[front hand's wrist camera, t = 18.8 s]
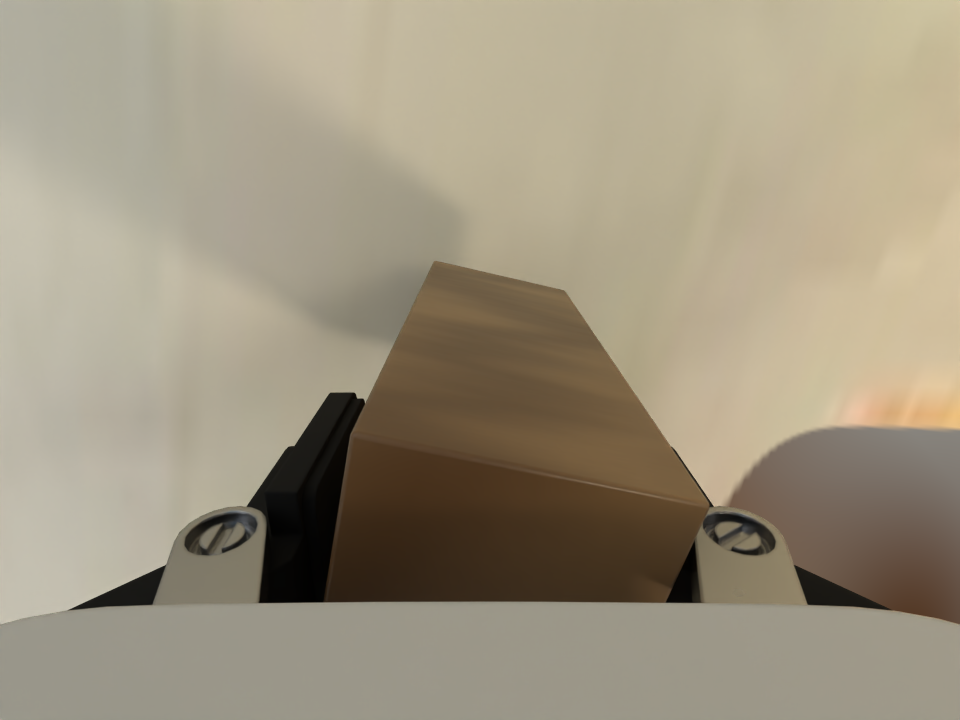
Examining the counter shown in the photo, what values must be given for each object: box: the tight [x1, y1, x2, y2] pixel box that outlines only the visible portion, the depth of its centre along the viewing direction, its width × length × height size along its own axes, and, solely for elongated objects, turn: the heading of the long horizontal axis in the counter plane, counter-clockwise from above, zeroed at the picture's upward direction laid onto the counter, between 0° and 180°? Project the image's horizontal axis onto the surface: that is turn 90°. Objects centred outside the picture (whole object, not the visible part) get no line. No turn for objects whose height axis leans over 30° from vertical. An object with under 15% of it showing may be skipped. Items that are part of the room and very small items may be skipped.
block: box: [323, 261, 709, 603], centre depth 13 cm, size 4×6×12 cm
